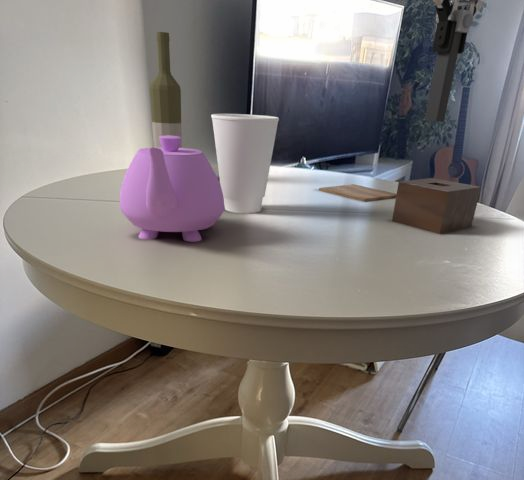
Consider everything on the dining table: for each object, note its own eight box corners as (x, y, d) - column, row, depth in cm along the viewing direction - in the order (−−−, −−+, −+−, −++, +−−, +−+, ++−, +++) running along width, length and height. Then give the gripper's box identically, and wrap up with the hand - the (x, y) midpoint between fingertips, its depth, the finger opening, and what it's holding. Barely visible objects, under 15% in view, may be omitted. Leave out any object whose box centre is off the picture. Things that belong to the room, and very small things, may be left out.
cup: (252, 200, 98) (255, 114, 91) (286, 213, 90) (292, 118, 82) (200, 205, 92) (199, 113, 85) (231, 218, 84) (233, 117, 76)
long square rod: (428, 120, 86) (448, 13, 78) (452, 122, 83) (476, 11, 75) (418, 120, 84) (438, 11, 77) (443, 122, 81) (467, 8, 74)
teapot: (215, 258, 64) (215, 147, 58) (99, 252, 64) (86, 141, 57) (229, 219, 83) (230, 133, 77) (140, 214, 83) (133, 128, 77)
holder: (424, 215, 94) (431, 177, 90) (471, 227, 87) (481, 186, 83) (391, 221, 88) (398, 181, 85) (439, 234, 81) (449, 191, 78)
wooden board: (353, 186, 119) (353, 184, 119) (399, 197, 110) (399, 194, 109) (318, 190, 112) (319, 187, 112) (364, 201, 103) (364, 198, 102)
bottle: (167, 181, 113) (159, 30, 99) (148, 177, 117) (139, 31, 103) (189, 178, 118) (185, 33, 104) (171, 174, 122) (165, 34, 108)
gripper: (470, -118, 63) (439, 47, 72) (527, -87, 72) (493, 56, 81) (421, -104, 68) (398, 48, 77) (481, -77, 77) (454, 56, 86)
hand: (447, 51), depth 79 cm, fingers closed on long square rod, 2 cm apart
